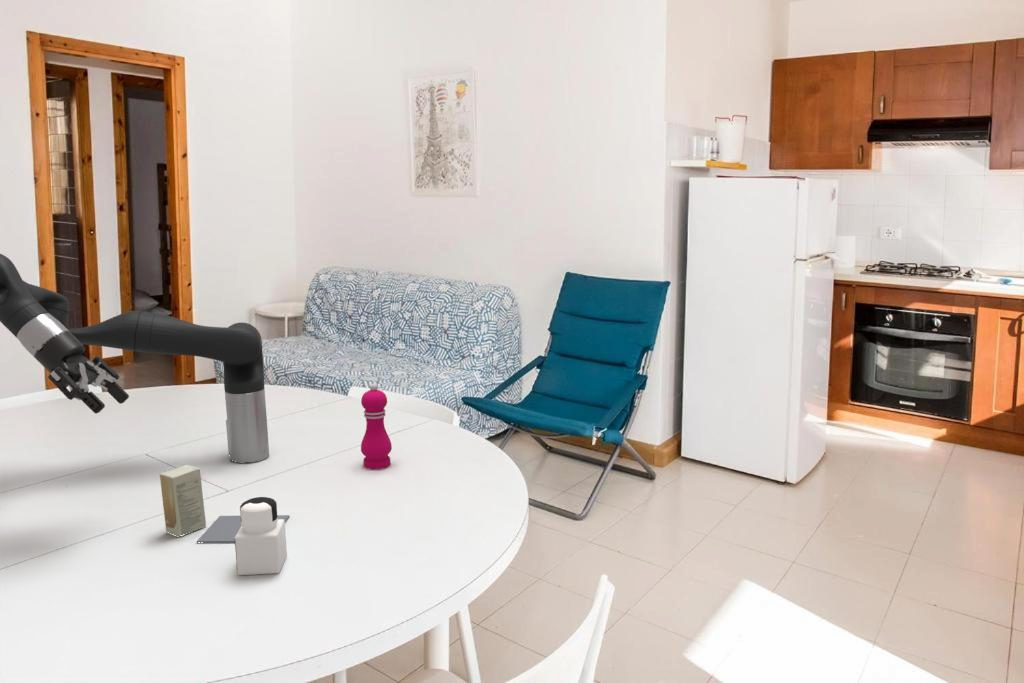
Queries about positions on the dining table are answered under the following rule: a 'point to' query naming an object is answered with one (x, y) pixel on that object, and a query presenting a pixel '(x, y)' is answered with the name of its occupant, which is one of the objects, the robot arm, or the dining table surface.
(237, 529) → the grey rubber mat
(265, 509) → the medicine bottle
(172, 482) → the skincare box
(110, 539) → the dining table surface
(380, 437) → the pepper mill
